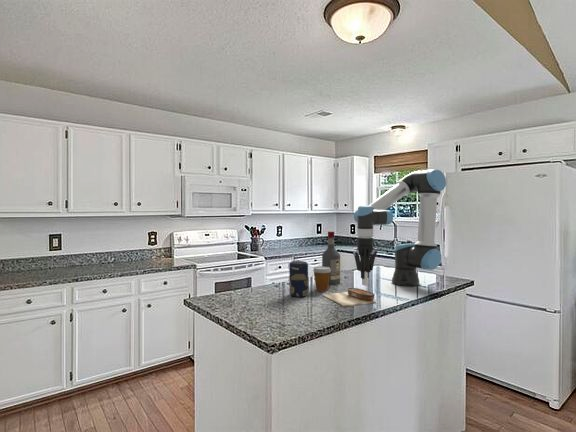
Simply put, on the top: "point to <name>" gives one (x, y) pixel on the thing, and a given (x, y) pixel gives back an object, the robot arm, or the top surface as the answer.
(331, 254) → the liquor
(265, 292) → the top surface
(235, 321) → the top surface
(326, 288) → the disposable coffee cup
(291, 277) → the canister
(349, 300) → the oak board
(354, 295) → the tin
